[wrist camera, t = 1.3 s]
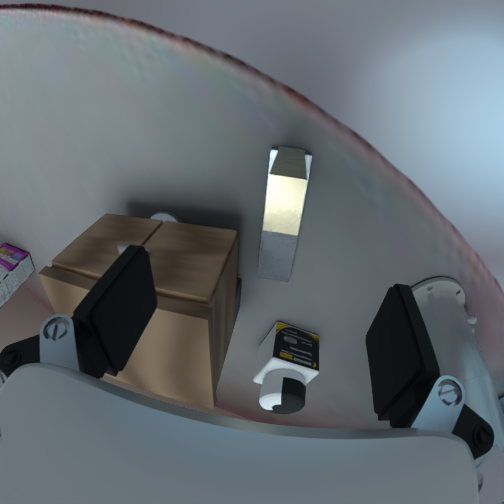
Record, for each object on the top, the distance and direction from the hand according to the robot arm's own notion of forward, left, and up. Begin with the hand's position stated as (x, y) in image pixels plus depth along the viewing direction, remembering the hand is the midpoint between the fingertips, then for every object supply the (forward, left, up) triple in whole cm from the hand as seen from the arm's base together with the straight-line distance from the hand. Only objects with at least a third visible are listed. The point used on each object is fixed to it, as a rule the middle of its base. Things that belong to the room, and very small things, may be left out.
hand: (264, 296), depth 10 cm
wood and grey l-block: (0, +6, -21) cm, 21 cm away
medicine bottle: (-4, +27, -21) cm, 34 cm away
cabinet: (+12, +14, -20) cm, 27 cm away
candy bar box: (+54, +22, -21) cm, 62 cm away
